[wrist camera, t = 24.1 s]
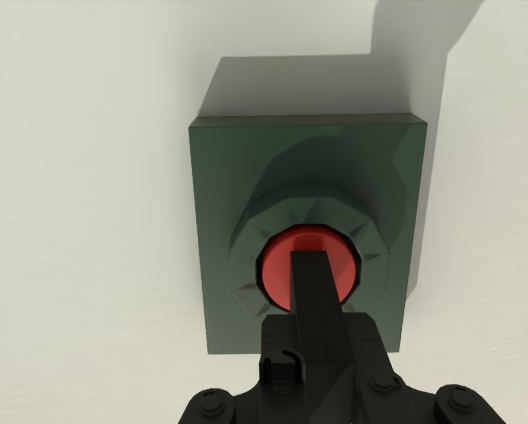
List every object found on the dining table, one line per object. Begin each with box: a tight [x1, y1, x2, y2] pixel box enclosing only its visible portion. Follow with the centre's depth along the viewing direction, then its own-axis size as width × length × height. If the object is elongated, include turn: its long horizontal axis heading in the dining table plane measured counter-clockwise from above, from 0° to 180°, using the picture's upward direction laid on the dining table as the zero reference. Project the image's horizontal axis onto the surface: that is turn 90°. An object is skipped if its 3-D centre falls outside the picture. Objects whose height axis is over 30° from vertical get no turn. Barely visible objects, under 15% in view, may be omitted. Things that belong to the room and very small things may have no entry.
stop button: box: [262, 224, 356, 310], centre depth 20 cm, size 4×4×2 cm
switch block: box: [188, 113, 427, 354], centre depth 21 cm, size 12×10×4 cm
